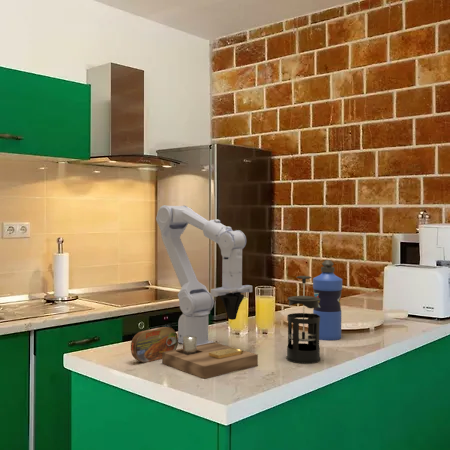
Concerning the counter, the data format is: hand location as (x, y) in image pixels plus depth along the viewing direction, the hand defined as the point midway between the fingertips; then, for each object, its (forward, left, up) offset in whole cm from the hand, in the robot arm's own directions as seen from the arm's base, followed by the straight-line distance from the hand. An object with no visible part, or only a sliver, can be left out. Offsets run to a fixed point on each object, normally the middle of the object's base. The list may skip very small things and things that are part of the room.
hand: (231, 319), depth 165 cm
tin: (-7, -22, -10) cm, 25 cm away
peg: (+2, -17, -9) cm, 20 cm away
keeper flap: (+11, -12, -6) cm, 17 cm away
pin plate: (+7, -14, -9) cm, 18 cm away
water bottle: (+6, +36, -10) cm, 38 cm away
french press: (+19, +10, -10) cm, 24 cm away
